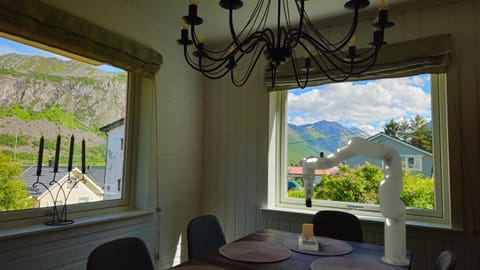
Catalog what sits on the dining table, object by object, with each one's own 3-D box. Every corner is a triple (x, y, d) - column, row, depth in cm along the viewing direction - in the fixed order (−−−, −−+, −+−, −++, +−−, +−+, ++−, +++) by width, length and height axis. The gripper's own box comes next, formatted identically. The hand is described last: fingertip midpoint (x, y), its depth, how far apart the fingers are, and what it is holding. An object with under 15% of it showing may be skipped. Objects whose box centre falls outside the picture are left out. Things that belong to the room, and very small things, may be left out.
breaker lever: (313, 239, 186) (313, 225, 187) (302, 238, 187) (302, 224, 188) (312, 238, 188) (312, 224, 189) (302, 237, 189) (302, 223, 190)
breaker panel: (318, 250, 173) (318, 241, 173) (299, 249, 175) (299, 240, 175) (315, 241, 193) (315, 233, 193) (298, 240, 194) (299, 232, 195)
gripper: (316, 178, 181) (315, 208, 180) (313, 177, 198) (313, 204, 197) (302, 178, 183) (302, 208, 181) (301, 176, 200) (301, 204, 198)
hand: (308, 206), depth 189 cm, fingers open, 9 cm apart
